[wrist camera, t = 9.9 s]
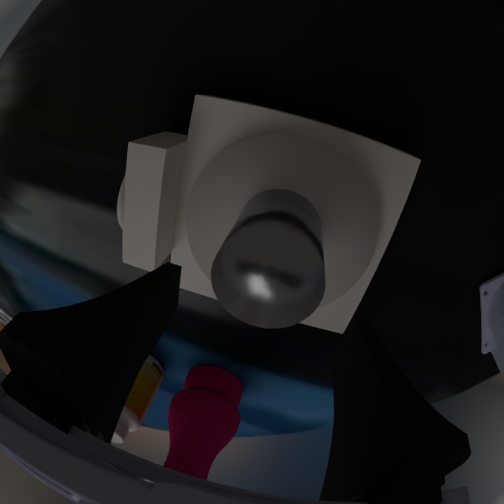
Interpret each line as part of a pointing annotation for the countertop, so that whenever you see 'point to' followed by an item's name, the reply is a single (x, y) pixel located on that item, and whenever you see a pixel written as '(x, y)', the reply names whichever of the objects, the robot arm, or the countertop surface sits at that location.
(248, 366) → the countertop surface
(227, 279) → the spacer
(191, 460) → the pepper mill
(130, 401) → the supplement bottle
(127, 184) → the scale
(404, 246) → the countertop surface
